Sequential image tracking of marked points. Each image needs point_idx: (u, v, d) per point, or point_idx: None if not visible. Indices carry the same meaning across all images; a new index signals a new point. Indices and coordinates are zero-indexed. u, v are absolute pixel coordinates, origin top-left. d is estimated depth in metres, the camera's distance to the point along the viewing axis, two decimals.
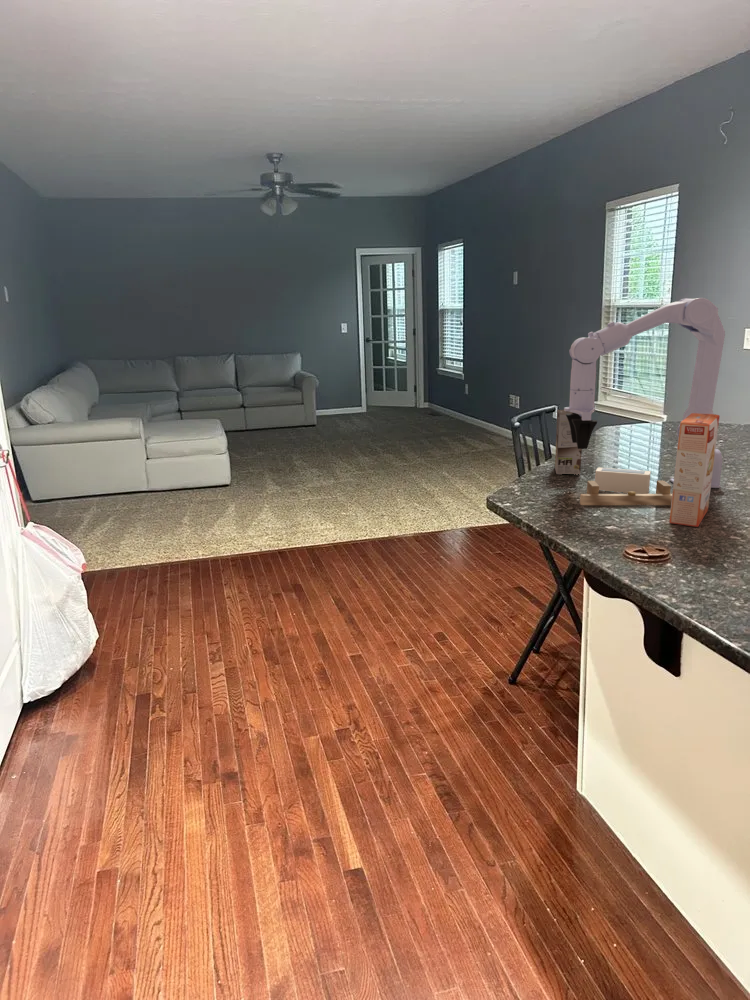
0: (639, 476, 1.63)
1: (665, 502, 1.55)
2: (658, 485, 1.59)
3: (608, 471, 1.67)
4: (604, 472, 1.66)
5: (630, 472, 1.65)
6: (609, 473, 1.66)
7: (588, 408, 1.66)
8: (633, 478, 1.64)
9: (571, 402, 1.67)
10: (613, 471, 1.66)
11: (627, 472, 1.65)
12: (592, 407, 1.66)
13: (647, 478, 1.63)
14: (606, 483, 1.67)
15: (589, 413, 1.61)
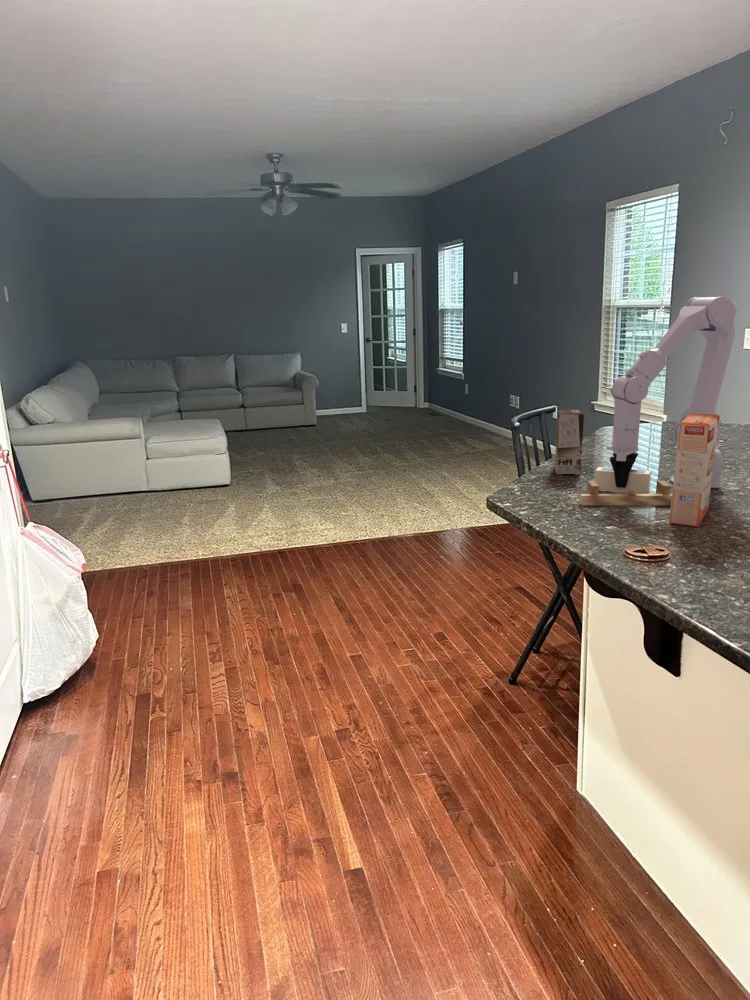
0: (639, 476, 1.63)
1: (665, 502, 1.55)
2: (658, 485, 1.59)
3: (608, 470, 1.66)
4: (604, 471, 1.66)
5: (630, 471, 1.65)
6: (609, 472, 1.66)
7: (628, 448, 1.62)
8: (633, 477, 1.64)
9: (613, 441, 1.65)
10: (613, 470, 1.66)
11: None
12: (634, 447, 1.62)
13: (647, 477, 1.63)
14: (606, 482, 1.67)
15: (623, 454, 1.58)
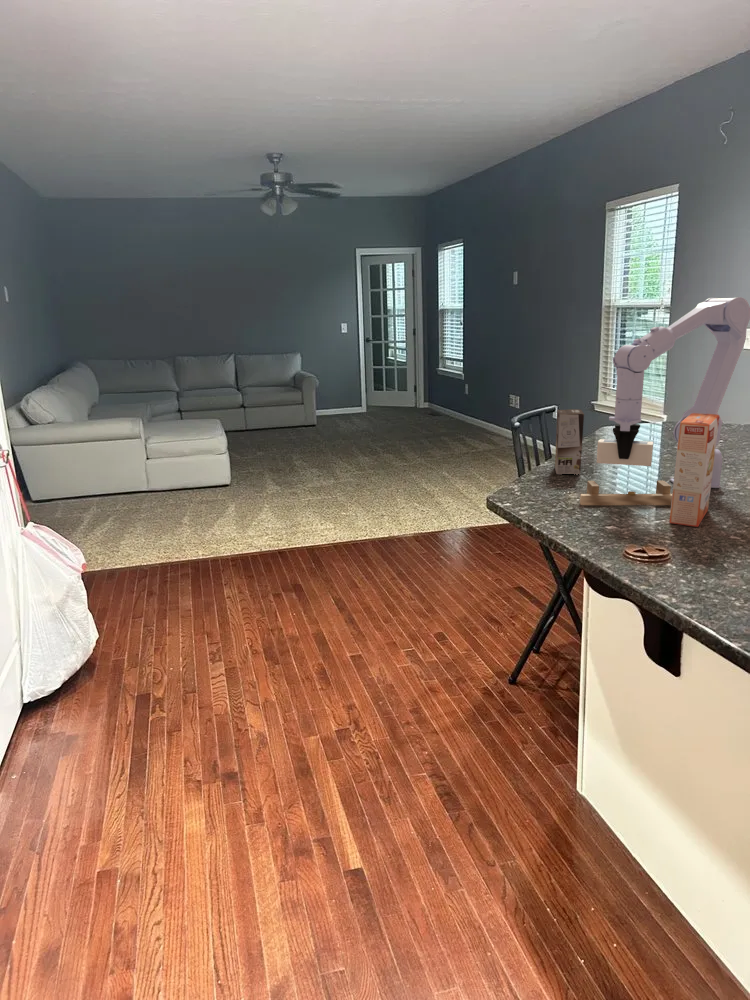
0: (642, 446, 1.61)
1: (665, 502, 1.55)
2: (658, 485, 1.59)
3: (610, 442, 1.64)
4: (606, 443, 1.64)
5: (633, 442, 1.62)
6: (612, 444, 1.63)
7: (632, 418, 1.59)
8: (636, 448, 1.61)
9: (615, 411, 1.62)
10: (615, 442, 1.63)
11: None
12: (637, 417, 1.60)
13: (650, 448, 1.60)
14: (609, 454, 1.64)
15: (627, 424, 1.56)
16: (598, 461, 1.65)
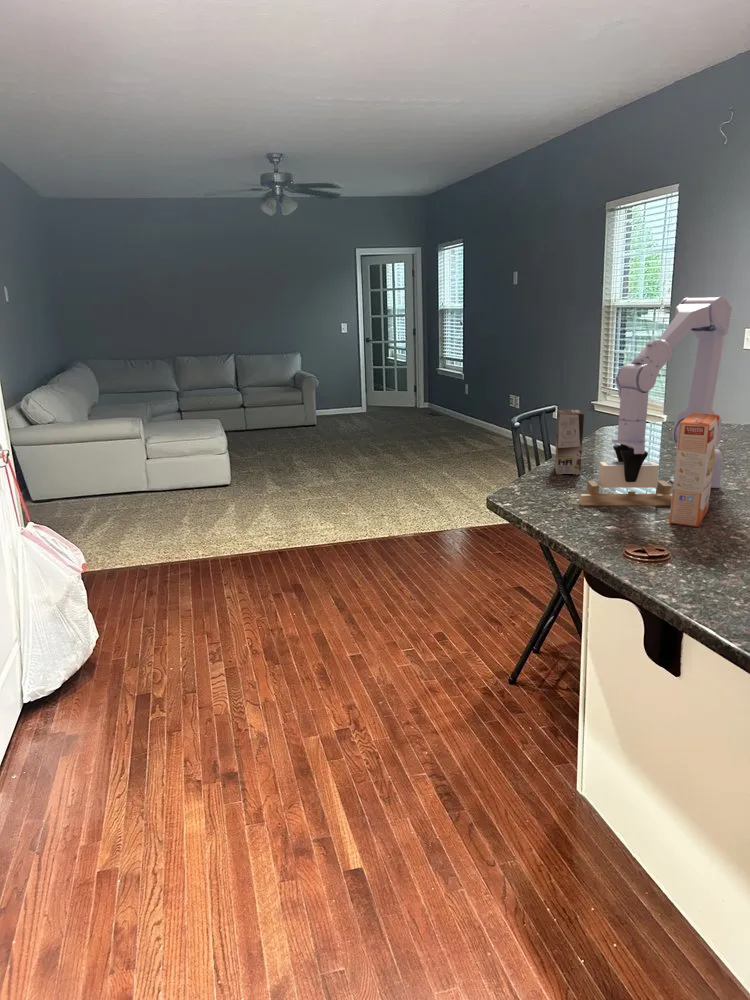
0: (648, 468, 1.56)
1: (665, 502, 1.55)
2: (658, 485, 1.59)
3: (616, 465, 1.57)
4: (612, 466, 1.56)
5: None
6: (618, 467, 1.56)
7: (639, 440, 1.54)
8: (642, 470, 1.56)
9: (620, 433, 1.55)
10: (621, 464, 1.57)
11: None
12: (643, 439, 1.54)
13: (657, 469, 1.56)
14: (615, 478, 1.57)
15: (642, 446, 1.49)
16: (604, 485, 1.57)
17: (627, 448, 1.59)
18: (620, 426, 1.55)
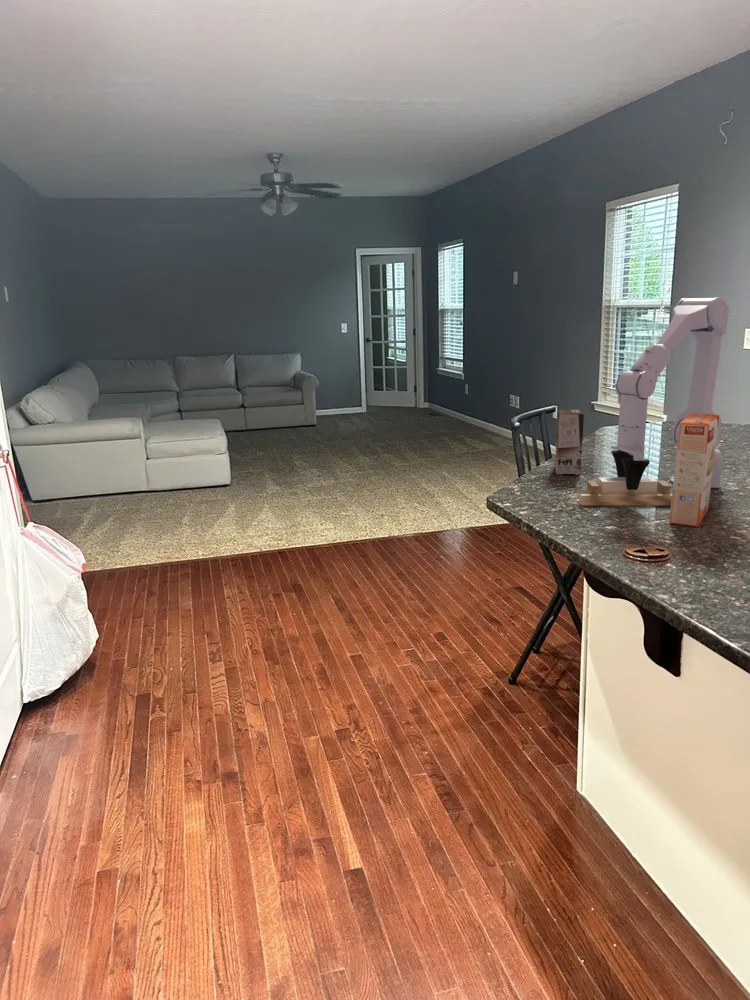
0: (647, 484, 1.57)
1: (665, 502, 1.55)
2: (658, 485, 1.59)
3: (615, 481, 1.58)
4: (611, 482, 1.57)
5: None
6: (617, 483, 1.57)
7: (639, 446, 1.54)
8: (641, 486, 1.57)
9: (620, 439, 1.55)
10: (619, 480, 1.58)
11: None
12: (643, 445, 1.55)
13: (655, 485, 1.57)
14: (614, 493, 1.58)
15: (642, 453, 1.50)
16: None
17: (625, 453, 1.61)
18: (620, 433, 1.55)
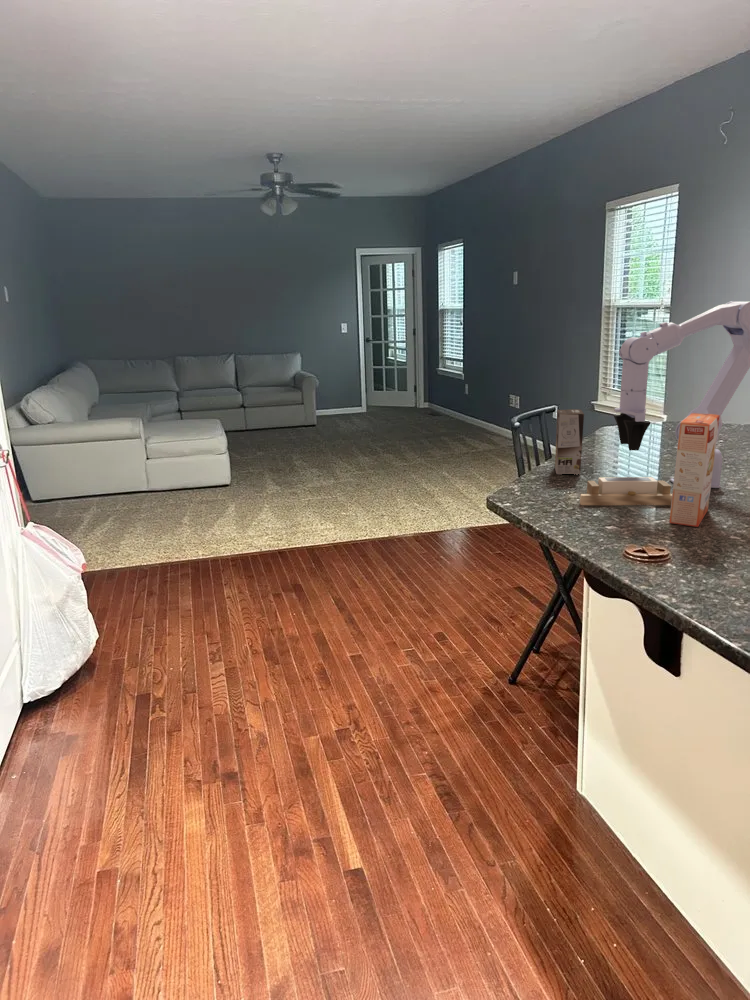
0: (647, 484, 1.57)
1: (665, 502, 1.55)
2: (658, 485, 1.59)
3: (615, 481, 1.58)
4: (611, 482, 1.57)
5: (637, 480, 1.58)
6: (617, 483, 1.57)
7: (640, 409, 1.63)
8: (641, 486, 1.57)
9: (622, 403, 1.65)
10: (620, 480, 1.58)
11: (634, 480, 1.57)
12: (644, 408, 1.64)
13: (655, 485, 1.57)
14: (614, 493, 1.58)
15: (643, 414, 1.59)
16: None
17: (627, 417, 1.70)
18: (622, 396, 1.64)
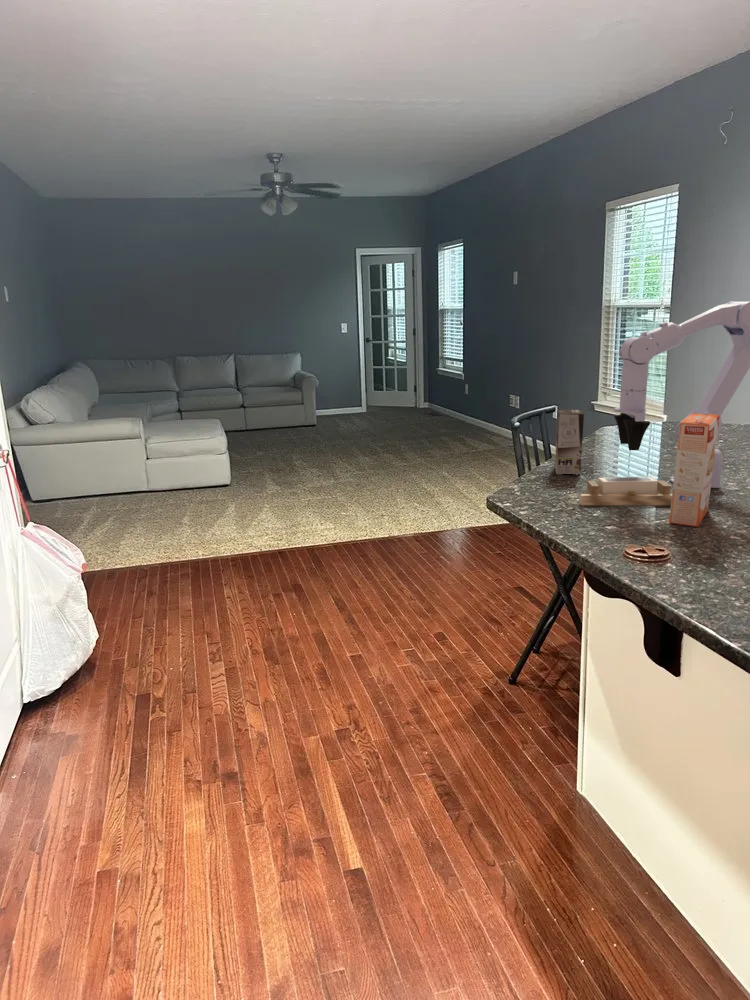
0: (647, 483, 1.57)
1: (665, 502, 1.55)
2: (658, 485, 1.59)
3: (615, 481, 1.57)
4: (612, 482, 1.57)
5: (637, 480, 1.58)
6: (617, 483, 1.57)
7: (640, 409, 1.63)
8: (641, 486, 1.57)
9: (622, 403, 1.65)
10: (620, 480, 1.58)
11: (634, 480, 1.58)
12: (644, 408, 1.64)
13: (655, 484, 1.57)
14: None
15: (643, 414, 1.59)
16: None
17: (627, 417, 1.70)
18: (622, 396, 1.65)
